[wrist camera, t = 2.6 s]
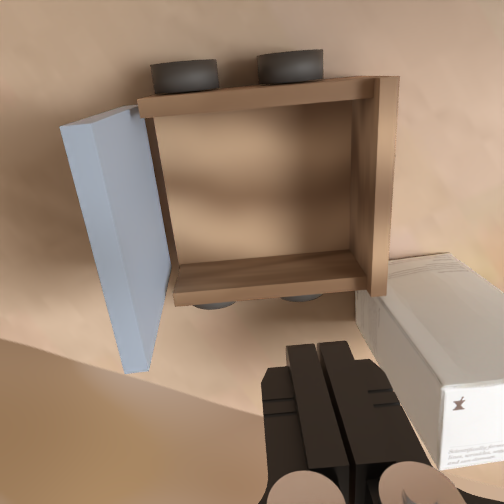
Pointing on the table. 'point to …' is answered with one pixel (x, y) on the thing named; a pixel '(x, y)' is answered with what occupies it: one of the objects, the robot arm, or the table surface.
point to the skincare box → (442, 354)
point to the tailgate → (122, 224)
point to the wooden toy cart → (275, 179)
